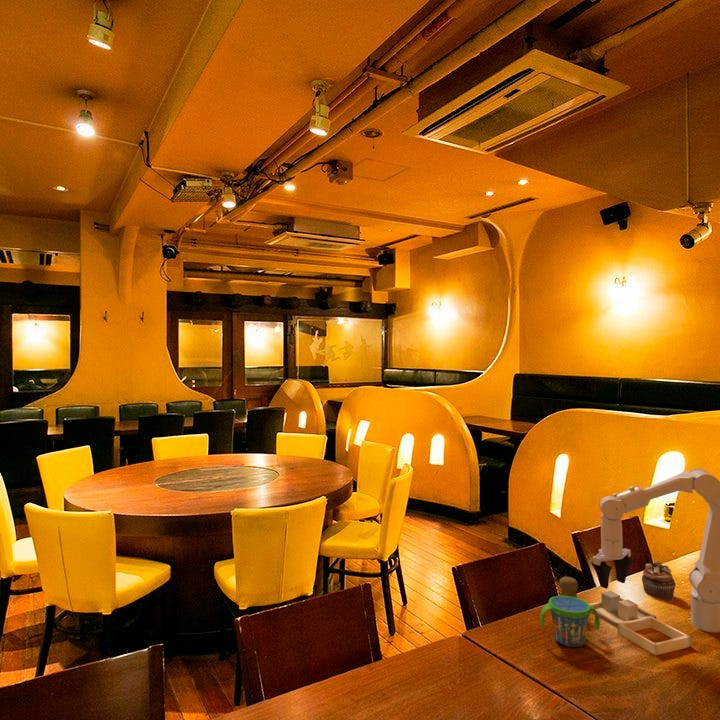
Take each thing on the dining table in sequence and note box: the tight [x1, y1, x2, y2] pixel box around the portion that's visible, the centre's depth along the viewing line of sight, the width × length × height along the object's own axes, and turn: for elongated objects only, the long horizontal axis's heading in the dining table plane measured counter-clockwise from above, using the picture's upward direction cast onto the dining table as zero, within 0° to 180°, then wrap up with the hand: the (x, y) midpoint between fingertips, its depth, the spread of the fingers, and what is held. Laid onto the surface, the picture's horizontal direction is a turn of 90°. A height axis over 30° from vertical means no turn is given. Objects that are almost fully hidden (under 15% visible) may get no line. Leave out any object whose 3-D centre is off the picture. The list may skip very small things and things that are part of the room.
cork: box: [558, 576, 579, 598], centre depth 157 cm, size 6×6×11 cm
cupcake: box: [641, 562, 677, 602], centre depth 170 cm, size 10×10×10 cm
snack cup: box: [539, 595, 601, 648], centre depth 143 cm, size 16×10×10 cm
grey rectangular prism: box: [600, 590, 621, 613], centre depth 159 cm, size 4×4×4 cm
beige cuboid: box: [618, 599, 639, 621], centre depth 153 cm, size 4×4×4 cm
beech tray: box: [588, 597, 657, 629], centre depth 156 cm, size 14×13×2 cm
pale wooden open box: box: [617, 616, 692, 656], centre depth 141 cm, size 12×12×4 cm
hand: (612, 584), depth 156 cm, fingers open, 7 cm apart
